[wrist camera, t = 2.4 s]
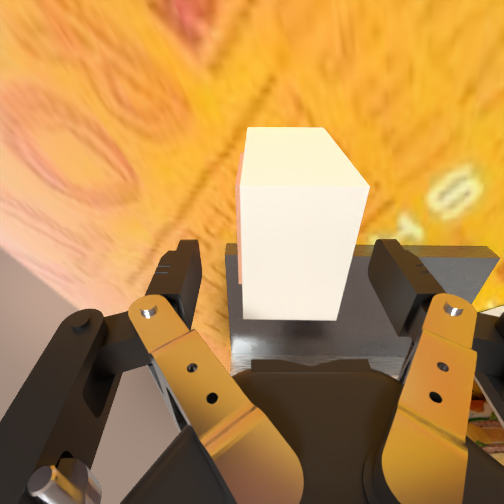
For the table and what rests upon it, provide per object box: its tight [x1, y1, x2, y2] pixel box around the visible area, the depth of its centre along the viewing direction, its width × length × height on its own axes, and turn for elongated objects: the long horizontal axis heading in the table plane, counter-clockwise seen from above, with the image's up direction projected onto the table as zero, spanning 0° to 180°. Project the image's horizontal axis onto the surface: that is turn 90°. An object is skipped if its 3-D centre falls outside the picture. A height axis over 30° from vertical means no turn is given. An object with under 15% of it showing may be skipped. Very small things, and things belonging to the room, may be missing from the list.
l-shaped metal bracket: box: [225, 243, 500, 379], centre depth 25 cm, size 20×14×4 cm
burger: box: [466, 400, 504, 466], centre depth 34 cm, size 14×14×10 cm
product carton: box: [235, 127, 370, 321], centre depth 16 cm, size 5×7×9 cm
